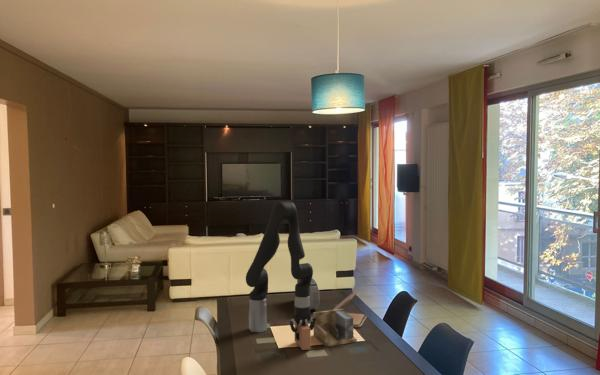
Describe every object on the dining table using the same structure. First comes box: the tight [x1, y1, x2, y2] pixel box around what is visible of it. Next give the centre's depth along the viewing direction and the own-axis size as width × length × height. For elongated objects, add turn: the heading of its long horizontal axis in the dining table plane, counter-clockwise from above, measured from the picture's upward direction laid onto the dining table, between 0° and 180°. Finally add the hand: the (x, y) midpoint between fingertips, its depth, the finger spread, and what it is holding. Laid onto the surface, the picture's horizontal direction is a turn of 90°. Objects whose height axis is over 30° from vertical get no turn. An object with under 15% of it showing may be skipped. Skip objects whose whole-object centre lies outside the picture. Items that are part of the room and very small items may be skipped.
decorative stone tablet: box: [296, 277, 321, 311], centre depth 283 cm, size 19×6×30 cm
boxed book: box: [294, 321, 311, 351], centre depth 219 cm, size 4×12×10 cm, turn 19°
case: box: [332, 289, 368, 329], centre depth 255 cm, size 20×21×16 cm
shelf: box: [312, 308, 358, 347], centre depth 229 cm, size 17×16×12 cm
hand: (302, 339), depth 219 cm, fingers closed on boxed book, 4 cm apart
